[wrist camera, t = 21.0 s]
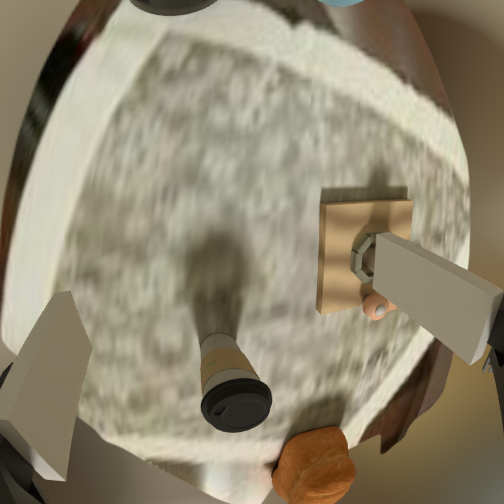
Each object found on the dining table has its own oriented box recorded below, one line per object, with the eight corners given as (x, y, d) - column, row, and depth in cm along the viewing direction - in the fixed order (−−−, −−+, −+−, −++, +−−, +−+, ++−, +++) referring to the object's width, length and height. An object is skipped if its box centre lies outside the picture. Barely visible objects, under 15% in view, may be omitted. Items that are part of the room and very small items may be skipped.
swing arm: (361, 316, 48) (370, 324, 46) (363, 296, 47) (373, 303, 45) (422, 296, 52) (431, 301, 50) (426, 277, 51) (435, 283, 48)
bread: (267, 482, 68) (286, 527, 52) (286, 432, 60) (314, 489, 45) (315, 471, 72) (337, 512, 57) (342, 420, 65) (375, 468, 49)
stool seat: (319, 203, 44) (331, 207, 41) (405, 198, 48) (419, 202, 45) (315, 309, 50) (325, 319, 47) (395, 289, 54) (406, 297, 51)
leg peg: (360, 270, 48) (399, 295, 38) (362, 245, 46) (403, 267, 37) (380, 266, 49) (419, 289, 40) (383, 241, 47) (424, 262, 38)
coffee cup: (187, 326, 45) (199, 394, 31) (247, 320, 47) (279, 382, 33) (192, 372, 48) (205, 440, 34) (246, 365, 50) (273, 429, 36)
